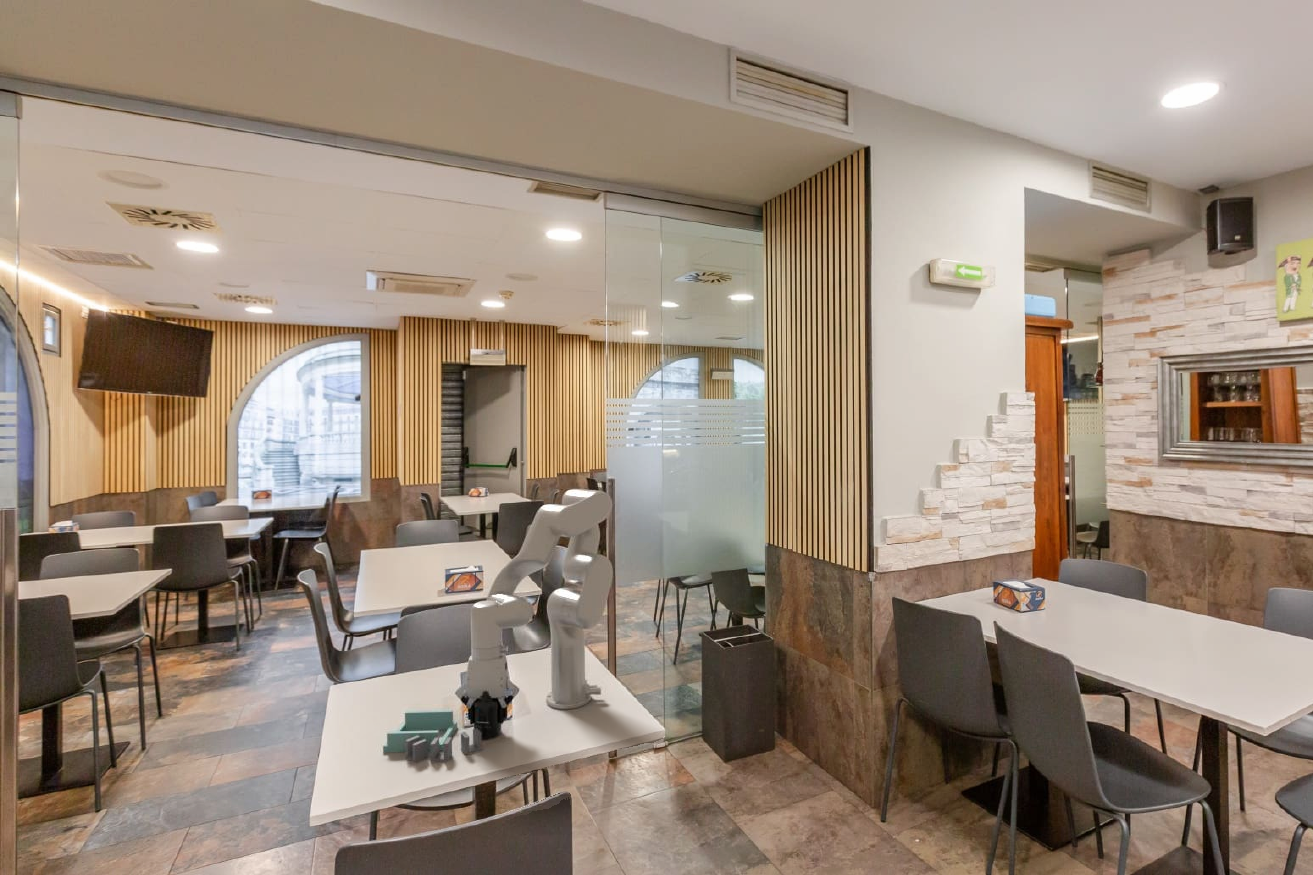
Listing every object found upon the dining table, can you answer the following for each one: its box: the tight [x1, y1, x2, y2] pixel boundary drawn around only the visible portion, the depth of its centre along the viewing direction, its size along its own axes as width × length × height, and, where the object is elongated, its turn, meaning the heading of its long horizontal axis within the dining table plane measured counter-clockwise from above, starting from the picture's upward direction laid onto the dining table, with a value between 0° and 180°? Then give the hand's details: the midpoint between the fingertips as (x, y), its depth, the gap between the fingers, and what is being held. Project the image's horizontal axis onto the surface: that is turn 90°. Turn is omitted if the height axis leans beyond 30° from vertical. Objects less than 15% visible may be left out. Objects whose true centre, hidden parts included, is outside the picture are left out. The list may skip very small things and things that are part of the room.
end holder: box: [382, 709, 458, 753], centre depth 154 cm, size 14×12×4 cm
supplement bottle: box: [473, 691, 503, 741], centre depth 156 cm, size 7×7×12 cm
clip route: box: [405, 728, 483, 764], centre depth 146 cm, size 17×8×4 cm, turn 91°
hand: (487, 721), depth 156 cm, fingers closed on supplement bottle, 6 cm apart
